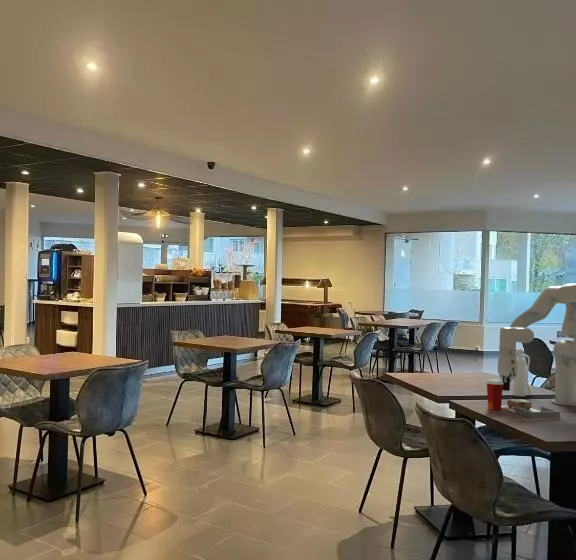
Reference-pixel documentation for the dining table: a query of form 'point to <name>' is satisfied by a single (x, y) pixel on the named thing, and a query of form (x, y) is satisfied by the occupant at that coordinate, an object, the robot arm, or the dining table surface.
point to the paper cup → (494, 394)
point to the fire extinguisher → (521, 376)
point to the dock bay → (535, 412)
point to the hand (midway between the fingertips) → (505, 390)
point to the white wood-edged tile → (519, 403)
